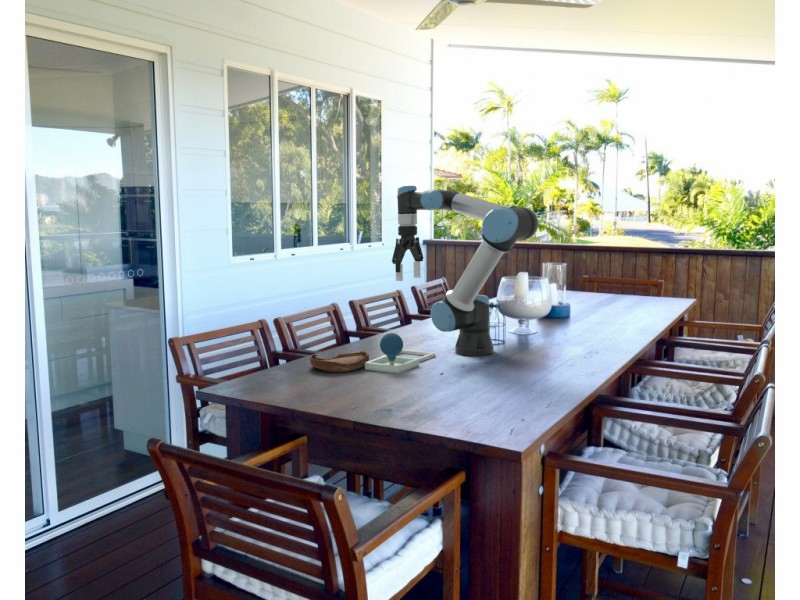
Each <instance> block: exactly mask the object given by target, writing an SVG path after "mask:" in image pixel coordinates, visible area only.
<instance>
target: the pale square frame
mask: <svg viewBox="0 0 800 600" xmlns="http://www.w3.org/2000/svg"><path fill="white" fill-rule="evenodd" d="M401 354H406V355H414V356H415V355H416V356H420V357H417V358H416V359H419V363H421V362H423V361H426V360H428V359H432V358H434V357H436V352H430V351H420V350H412V349H411V350H410V349H402V351H401V352H400V353H399V354H398V355H401ZM383 356H386V355H385V354H383V355H381V356H379V357H378V358H380V357H383Z"/></svg>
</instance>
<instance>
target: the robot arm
mask: <svg viewBox="0 0 800 600" xmlns="http://www.w3.org/2000/svg"><path fill="white" fill-rule="evenodd" d="M396 199H397V224H398V227H397V234H398V236H400V238H399V237H398V238H396V239H395V247H394V249H393V254H392V259H391V263H392V264H394V265H395V266H394V267H395V281H396V282H398V281H399V282H403V281H404V277H403V276H404V273H403V263H402V262H403V259H404V257H405V255H406V252H407V251H408V250H409V251H410V253H411V256H412V257H413V259H414V261H413V278H415V279H416V278H418V279H419V278H421V262H423V261H424V255H423V251H422V246H421V243H420V237H419V236H418V226H417V225H418V211H435V210H439V211H440V210H446V211H449V212H450V211H451V212H454V213H457V214H460V215H464V216H466V217H470V218H473V219H477V220H481V221H482V224H481V227H482V230H481V231H482V233H481V239H482V240H481V242H480V245H479V246H478V248H477V250H476V251H475V253H474V254H473V256H472V258H471V260H470V261H469V262H468V264H467V266H466V268H465V270H464V271H463V273H462V275H461V276H460V278H459V280H458V281H457V283H456V284H455V287H454V288H453V289H450V290H448V291H446V293H445V295H444V296H443V299H442V300H439V301H436V302H435V303H433V304H432V305H431V309H430V318H431V322H432V324H433V325H434V327H435V328H436V329H437V330H438V331H439V332H443V333H447V332H449V333H450V332H454V331H458V337H457V340H456V343H455V347H454V352H455V353H456V354H458V355H461V356H469V357H473V356H474V357H481V356H488V355H489V356H490V355H492V354H494V352H495V350H494V349H495V347H494V343H493V340H492V337H491V334H490V298H489V296H487V295H484V294H480V291H481V290H482V288H483V287H484V285H485V284H486V282H487V280H488V278H489V277H490V276H491V274H492V273H493V271H494V269H495V268H496V266H497V265H498V263H499V262H500V259H501V258H502V256H503V255H504V254H507V253H510V252H511V250H512V249H513V248H514V246H515V244H516V243H517V242H519V241H526V240H529V239H530V238H532V237H533V236H534V235H535V234H536V232H537V231H538V228H539V218H538V216H537V215H536V213H535V212H534V211H533V210H532V209H530V208H528V207H521V206H517V205H510V206H506V205H503V204H500V203H495V202H493V201H488V200H487V199H486V200H485V199H482V198H479V197H474V196H471V195H467V194H464V193H461V192H460V191H459V190H454V189H449V190H445V189H439V190H438V189H421V190H417V186H416V185H399V186H398V187H397V196H396Z"/></svg>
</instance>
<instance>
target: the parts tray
mask: <svg viewBox="0 0 800 600" xmlns="http://www.w3.org/2000/svg"><path fill="white" fill-rule="evenodd" d="M382 356H383V355H382ZM379 357H380V356H379ZM379 357H378V358H377V357H376V358H375V359H371V360H369V361H368V362H365V366H364V370H366V371H367V370H368V371H374V372H383V373H390V374H396V375H397V374H398V375H399V374H402V373H404V372H407V371H409V370H412V369H414V368H417V367H419V365H420V362H419V359H417V358H414V357H405V356H398V355H397V356H396V358H395V360H394V365H389V360H388V357H387V356H383V357H380V358H379Z"/></svg>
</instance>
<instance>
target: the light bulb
mask: <svg viewBox="0 0 800 600" xmlns="http://www.w3.org/2000/svg"><path fill="white" fill-rule="evenodd" d="M379 348H380V351H381V352H382V354H383V355H386V356H387V357H388V360H389V365H394V360H395V358H396V356H397V357H398V355H400V354H399V353H400V352H401V351H402V350H404V341H403V339H402V337H401V336H400V335H399V334H397V333H396V332H395V333H394V332H388V333H386V334H384V335H383V336H382V337H381V339H380V342H379Z"/></svg>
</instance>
